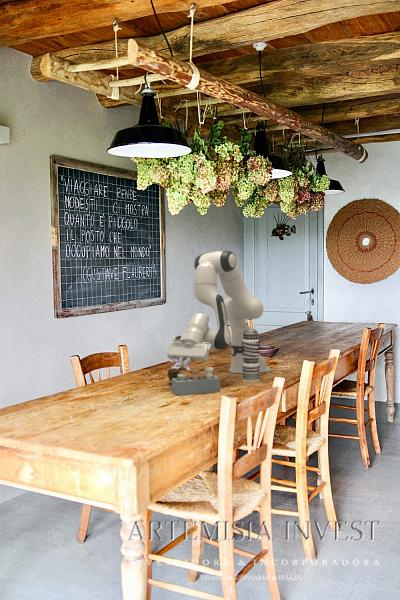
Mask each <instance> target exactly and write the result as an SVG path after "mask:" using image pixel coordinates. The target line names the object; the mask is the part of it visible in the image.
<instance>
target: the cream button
mask: <svg viewBox="0 0 400 600" xmlns="http://www.w3.org/2000/svg"><path fill="white" fill-rule="evenodd" d="M203 369H204V372H205V376H206V379H208V378H212V375H213V371H214V367H212V366H207V367H204V368H203Z"/></svg>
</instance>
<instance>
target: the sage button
mask: <svg viewBox="0 0 400 600" xmlns="http://www.w3.org/2000/svg"><path fill="white" fill-rule="evenodd" d="M186 377H188V376H187V373H182V374H178V378H179V381H185V378H186Z"/></svg>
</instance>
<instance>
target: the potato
mask: <svg viewBox="0 0 400 600" xmlns="http://www.w3.org/2000/svg"><path fill="white" fill-rule="evenodd" d="M171 368H172V367H171ZM171 368H170V369H168V371H167V377H168V380H169V381H170V382H172V378H178V374H183V373H182V371H181V370H180V369H179V368H178V369H176V368H172V369H171Z"/></svg>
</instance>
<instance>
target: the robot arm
mask: <svg viewBox="0 0 400 600" xmlns="http://www.w3.org/2000/svg"><path fill="white" fill-rule="evenodd" d="M193 267H194V269H195V275H194V284H193V285H194V286H193V287H194V288H193V289H194V290H193V291H194V297H195V298H196V300H197V301H199V303H201V304H203V305H207V306H209V307H211V308H212V309H213V310H214V313H215V320H216V325H217V326H216V328H210V325H209V322H210V316H209V315H208V314H207V313H204V312H195V313H194V314H193V315H192V316H191V319H190V321H189V323H188V324H187V330H186V331H185V333H183V334H180V335H176V336H174V337H173V338H172V342H171V343H170V344H169V346H168V348H167V350H166V353H165V354H166V356H167V357H168V360H169V359H180V367H179V368H182V367H183V368H184V367H187V365H188V366H189V364H190V363H192V361H197V362H206V361H207V360H208V359H209V356H210V351H211V350H217V351H218V350H221V351H225V350H227V349H228V348H229V346H230V355H231V360H230V365H229V369H228V372H230V373H233V374H243V372H244V371H243V369H244V368H243V362H244V361H243V357H242V355H243V354H242V352H243V350H242V348H243V347H242V344H243V343H242V341H243V332H244V331H245V330H247V329H252V328H251V327H250V326H249V325H248V323H247V321H246V320H251V321H252V320H256V319H259V318H261V317H262V315H263V313H264V305H263V303H262V301H261V300H259V299H257V298H256V297H255V296H254V295H253V294H252V292H250V290H249V289H248V288H247V286H246V284H245V282H244V280H243V277H242V275H241V272H240V269H239V266H238V265H237V257H236V255H235V254H234V252H232V251H231V250H223V251H222V250H220V251H211V252H208V253H202V254H199V255H197V256H196V258H195V260H194V266H193ZM217 275H218V277H219V281H220V284H221V286H222V289H223V292H224V294H226V296H228V297H229V298H226V299H224V298H223V296H222V295H220V293H219V290H218V278H217ZM229 327H230V329H229ZM230 330H231V331H230ZM258 348H259V349H260V346H258ZM258 355H259V356H260V357H259V366H260V368H258V369H260V371H259V373H260V374H261V373H267V372H272V368H271V367H269V366H268V363H267V360H266V358H265V357H264V356H262V355H261V354H260V353H258ZM184 360H187V361H186V362H183V361H184Z"/></svg>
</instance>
